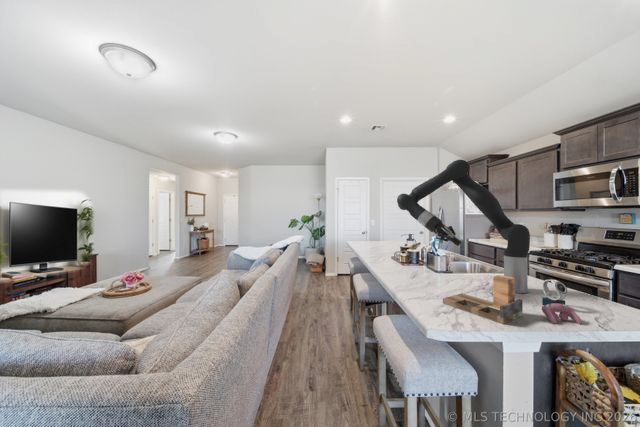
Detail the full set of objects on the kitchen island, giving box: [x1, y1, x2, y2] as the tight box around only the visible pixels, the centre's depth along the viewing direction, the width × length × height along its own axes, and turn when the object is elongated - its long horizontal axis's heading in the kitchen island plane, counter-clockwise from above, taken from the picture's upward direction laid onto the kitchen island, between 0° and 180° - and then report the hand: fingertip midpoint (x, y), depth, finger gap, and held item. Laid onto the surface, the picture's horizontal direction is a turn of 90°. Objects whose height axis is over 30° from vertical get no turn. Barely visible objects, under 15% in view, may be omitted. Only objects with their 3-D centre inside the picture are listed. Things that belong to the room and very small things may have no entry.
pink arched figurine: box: [541, 303, 582, 325], centre depth 88 cm, size 10×5×7 cm, turn 87°
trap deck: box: [442, 292, 524, 325], centre depth 98 cm, size 14×23×6 cm, turn 29°
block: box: [492, 274, 516, 309], centre depth 94 cm, size 5×5×12 cm
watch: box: [541, 279, 568, 306], centre depth 100 cm, size 6×8×11 cm
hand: (459, 244), depth 114 cm, fingers closed
